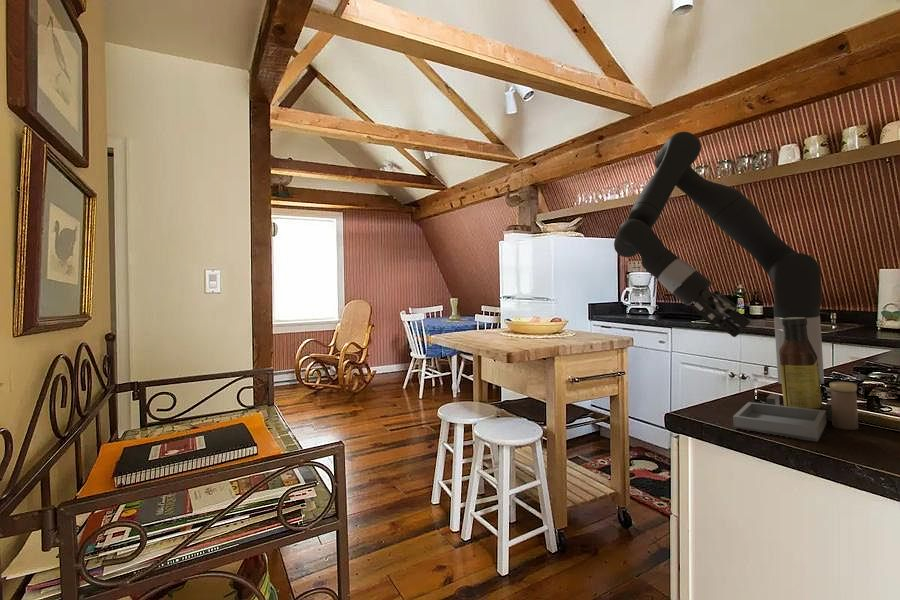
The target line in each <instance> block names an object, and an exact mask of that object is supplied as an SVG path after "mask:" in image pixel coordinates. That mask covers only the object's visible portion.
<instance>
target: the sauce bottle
mask: <svg viewBox="0 0 900 600" xmlns="http://www.w3.org/2000/svg"><path fill="white" fill-rule="evenodd" d="M782 324H783V326H784V334H785V336H784V338H785V340H784V343H783V345H782V346H781V348H780V350H779V351H780V352H779V355H780V371H781V381H782V384H781V388H782V389H781V390H782V398H783V399H782V400H783V406H789V407H798V408H807V409H816V410H823V408H822V407H823V402H822V401H823V400H822V390H821V389H822V388H821V386H820V377H819V368H818V357H817V355H816V353H815V351H814V349H813V347H812V345H811V343H810V341H809V339H808V336H807V328H806V325H807V318H805V317H789V318H783V319H782Z"/></svg>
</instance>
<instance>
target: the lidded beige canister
mask: <svg viewBox="0 0 900 600" xmlns="http://www.w3.org/2000/svg"><path fill="white" fill-rule="evenodd" d="M828 385H829V390H830V391H829V392H830V400H831V408H832V421H831V422H832V426H833V428H836V429H842V430H847V431H849V430H850V431H852V430H853V431H854V430H858V429H859V417H858V416H859V415H858V399H857V398H858V397H857V391H858V384H857V383H854V382H847V381H831V382H829V383H828Z"/></svg>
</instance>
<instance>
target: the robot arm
mask: <svg viewBox="0 0 900 600" xmlns="http://www.w3.org/2000/svg"><path fill="white" fill-rule="evenodd" d="M701 145H702V144H701V141H700V140H699V138H698V137H697V136H696V135H695V134H693V132H688V131H678V132H676V133H674V134H673V135H671V136H670V137H669V138H668V139H667V140H666V141H665V143H664V144H663V145H662V146H661V148H660V149H659V151H658V152H657V154H655V157H654V162H653V163H654V167H655V168H656V171H655V172H654V174H653V175H652V176H651V178H650V179H649V181H648V182H647V183H646V184H645V186H644V188H643V189H642V191H641V192H640V193H639V195H638V196H637V198H636V200H635V202H634V204H633V205H632V207H631V209H630V212H629V214H628V217H627V219H626V220H624V221H623V222H622V223H621V224H620V225H619V227H618V230H617V234H616V236H615V237H614V242H613V247H614V250H615V252H616V253H617V254H618V255H619V256H620V257H622V258H623V257H624V258H633V257H635V256H636V255H638V254H639V255H640V257H641V266H642V267H643V269H644V270H645V271H647V273H649V274H650V275H651V276H652V277H654V278H655V279H656V280H657V282H659V283H660V284H661V285H662V287H664V288H665V289H666V290H667V291H669V292H670V293H671V294H672V295H673V296H675V297H676V299H678V300H679V301H681V302H682V303H683V304H684V305H685V306H690V305H692V304H693V303H694V304H693V306H691V308H692V310H694V311H695V312H696V313H697V314H698V315H700V317H702V318H703V319H704V320H705V321H707V322H708V323H709V324H710V325H711V326H712V327H713V326H717V327H720V328H722V329H723V330H724V331H725V332H726V333H728V334H729V335H730V336H731V337H733V338H736V337H737V336H739V334H741V333H742V332H743V330H742V329H745V328H746V327H747V326H748V325H750V324H751V320H750V319H749V318H747V317H746V316H745V315H743V314H742V313H741V312H740V311H738V308H737V307H738V306H737V304H736V303H734V302H733V301H731V300H730V299H729V298H728V297H726V296H725V295H723V294H722V293H721V292H720V291H719V290H716V289H714V290H713V291H710V290H709V288H710V287H711V285H712V283H713V282H712V281H711V280H710V279H708V278H707V277H706V276H705V275H703V274H702V273H701V272H699V270H697V269H695V268H694V267H693V266H692V265H691V264H689V263H688V262H686V261H685V260H683V259H681V258H680V257H678V256H677V255H676V254H675V253H674V252H672V251H671V250H669V249H668V248H667V247H666V246H665V245H664V243H663V241H662V240H661V239H660V238H659V237H658V235H657V234H656V232H654V230H653V229H652V228H653V226H654V225H655V224H656V222H657V221H658V219H659V218H660V216H661V214H662V212H663V210H664V208H665V206H666V205H667V202H668V200H669V199H670V197H671V196H672V193H673V191H674V189H675V188H677V189H679V190H680V191H682V192H683V193H684V194H685V195H686V196H687V197H688V198H690V199H691V200H692V201H693V202H694V203H695V204H696V205H697V207H699V208H700V209H701V210H702V211H703V212H704V213H705V214H706V215H707V216H708V217H709V218H710V220H711V221H713V222H714V223H715V224H716V225H717V227H718V228H720V230H722V231H723V232H724V233H725V234H726V235H727V236H728V237H730V238H731V239H732V240H733V241H734V242H735V243H737V245H739V246H740V247H741V248H743V249H745V251H747V252H748V254H749V255H751V256H752V257H753V258H754V259H755V261H756V262H757V263H758V265H760V266H761V268H762V269H763V270H764V272H765V273H766V274H767V276H768V277H769V278H770V280H771V281H772V282H773V288H774V304H773V322H774V337H775V353H776V354H775V355H776V369H777V370H776V371H777V382H778V384H780V385H782V381H781V371H780V355H779V352H780V351H779V350H780V348H781V346H782V345H783V343H784V340H785V338H784V336H785V334H784V326H783V324H782V319H783V318H789V317H805V318H807V325H806V328H807V336H808V339H809V341H810V343H811V345H812V347H813V349H814V351H815V353H816V355H817V357H818V368H819V377H820V385H821V384H824V385H825V376H824V374H825V373H824V372H825V371H824V358H823V357H824V356H823V340H822V327H821V306H822V301H823V300H822V277H821V276H822V275H821V273H822V272H821V268H820V265H819V262H818V261H817V260H816V259H815V258H814V257H813V256H811V255H809V254H807V253H801V252H797V251H796V250H794V248H792V247H790V245H788V244H787V243H786V242H785V241H784V240H783V239H781V238H780V237H779V236H778V235H777V234H776V233H775V232H774V230H773V229H772V228H771V226H770V224H769V223H768V221H767V220H766V218H765V217H764V216H763V214H762V212H761V211H760V210H759V209H758V207H756V205H754V203H753V202H752V201H751V200H750V199H748V198H747V197H746V196H745V195H744V194H743V193H742V192H741V191H739V190H738V189H736V188H734V187H731V186H729V185H725V184H721V183H718V182H713V181H710V180H708V179H706V178H705V177H703V176H702V175H700V174H699V173H698V172H697V171H696V170H695V169H694V168H693V167H692V165H693V163H694V162H695V161H696V160H697V159H698V157H699V155H700V153H701V149H702V146H701Z"/></svg>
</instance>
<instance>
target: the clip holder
mask: <svg viewBox="0 0 900 600" xmlns="http://www.w3.org/2000/svg"><path fill="white" fill-rule="evenodd" d="M765 401H766V404H771V405H780V406H781V404H780V403H781V402H780V394H776V393H775V394H774V393H770V394H769V395H768V396H767V397H766V400H765ZM825 409H826V410H825V411H826V421H829V422H832V408H831V399H828V400H827V403H826V404H825Z"/></svg>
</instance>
